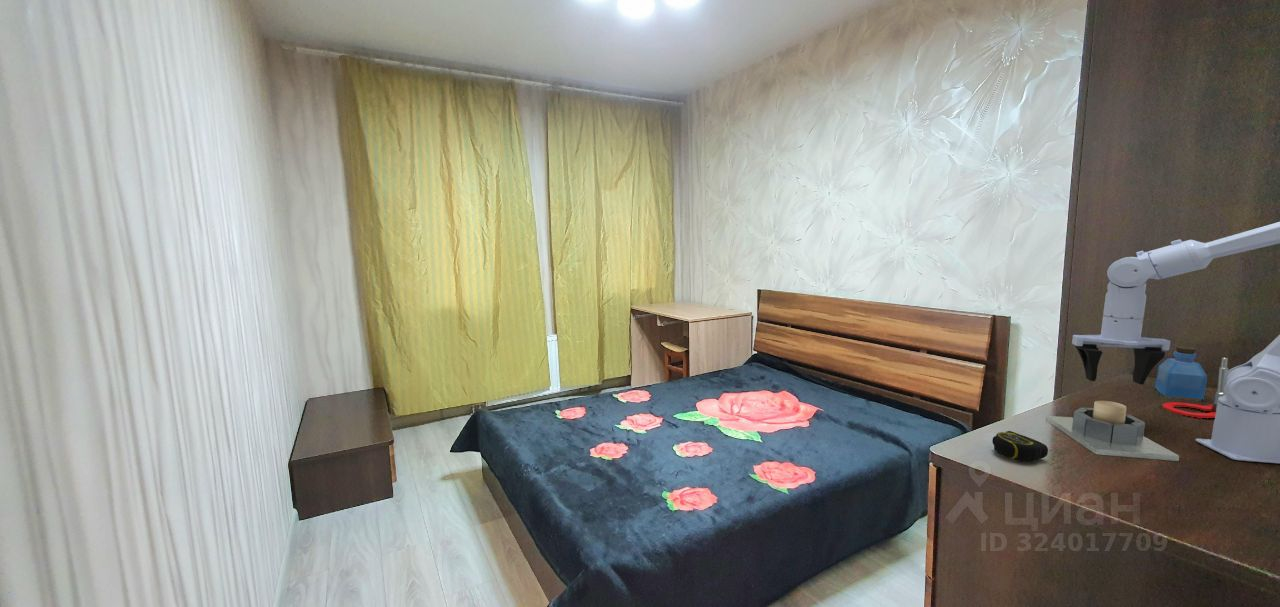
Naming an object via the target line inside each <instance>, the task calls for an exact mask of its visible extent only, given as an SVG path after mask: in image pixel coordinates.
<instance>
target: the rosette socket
mask: <svg viewBox="0 0 1280 607" xmlns="http://www.w3.org/2000/svg"><path fill="white" fill-rule="evenodd" d="M1093 411H1094V407H1080V408H1077V409H1076V410H1074V411H1073V417H1072V416H1056V415H1055V416H1054V415H1046V416H1045V421H1046V422H1048V423H1049V424H1051V425H1052V426H1053V427H1055V428H1057V429H1058V430H1059V431H1061V432H1063V433H1064V434H1065V435H1067V436H1068V437H1070V438H1072V439H1073V440H1074V441H1076V443H1079V444H1080V445H1082V446H1083V447H1085V448H1086V449H1087V450H1088V451H1090V452H1092V453H1093V454H1094V455H1097V456H1098V455H1099V456H1110V457H1111V456H1114V457H1125V458H1135V459H1136V458H1137V459H1146V460H1147V459H1149V460H1162V461H1172V462H1173V461H1174V462H1179V460H1180V455H1179V454H1177V453H1175V452H1173V451H1171V450H1169V449H1168V448H1165V447H1164V446H1162V445H1160V444H1159V443H1157V442H1156V441H1153V440H1151V439H1149V438H1148V437H1146V436H1144V435H1145V433H1144V432H1145V427H1146V422H1145V421H1143V420H1141V419H1140V418H1137V417H1136V416H1133V415H1131V414H1129V413H1126V417H1125V424H1118V423H1109V422H1105V421H1101V420H1097V419H1093Z"/></svg>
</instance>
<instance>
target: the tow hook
mask: <svg viewBox="0 0 1280 607" xmlns="http://www.w3.org/2000/svg"><path fill="white" fill-rule="evenodd" d="M1228 360H1229V359H1228V357H1222V358H1221V364H1220V366H1219V368H1218V369H1219V371H1218V380H1217V390H1216V391H1215V394H1214V395H1215V396H1214V402H1212V404H1208V405H1202V404H1194V403H1187V402H1178V401H1177V402H1176V401H1175V402H1165V403H1163V404H1162V405H1161V406H1163V408H1165V409H1166V410H1169V411H1171V412H1173V413H1172V414H1174V413H1177V414H1176V415H1178V414H1181V415H1180V416H1182V415H1185V416H1184V417H1187V416H1191V417H1190V418H1193V417H1197V418H1196V419H1202V418H1207V419H1206V420H1209V419H1208V418H1215V414H1216V408H1217V402H1218V398H1219V397H1221V396H1224V395H1226V393H1225V386H1226V384H1225V381H1224V377H1225V375H1226V373H1227V372H1228V371H1229V367H1228ZM1176 406H1182V407H1192V408H1197V409H1201V410H1204V411H1203V412H1192V411H1188V410H1187V411H1186V410H1181V409H1178V408H1174V407H1176ZM1163 408H1162V409H1163ZM1197 409H1196V410H1197ZM1166 410H1165V411H1166ZM1201 410H1200V411H1201ZM1205 411H1212V412H1207V413H1206V412H1205ZM1171 412H1170V413H1171Z"/></svg>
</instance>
